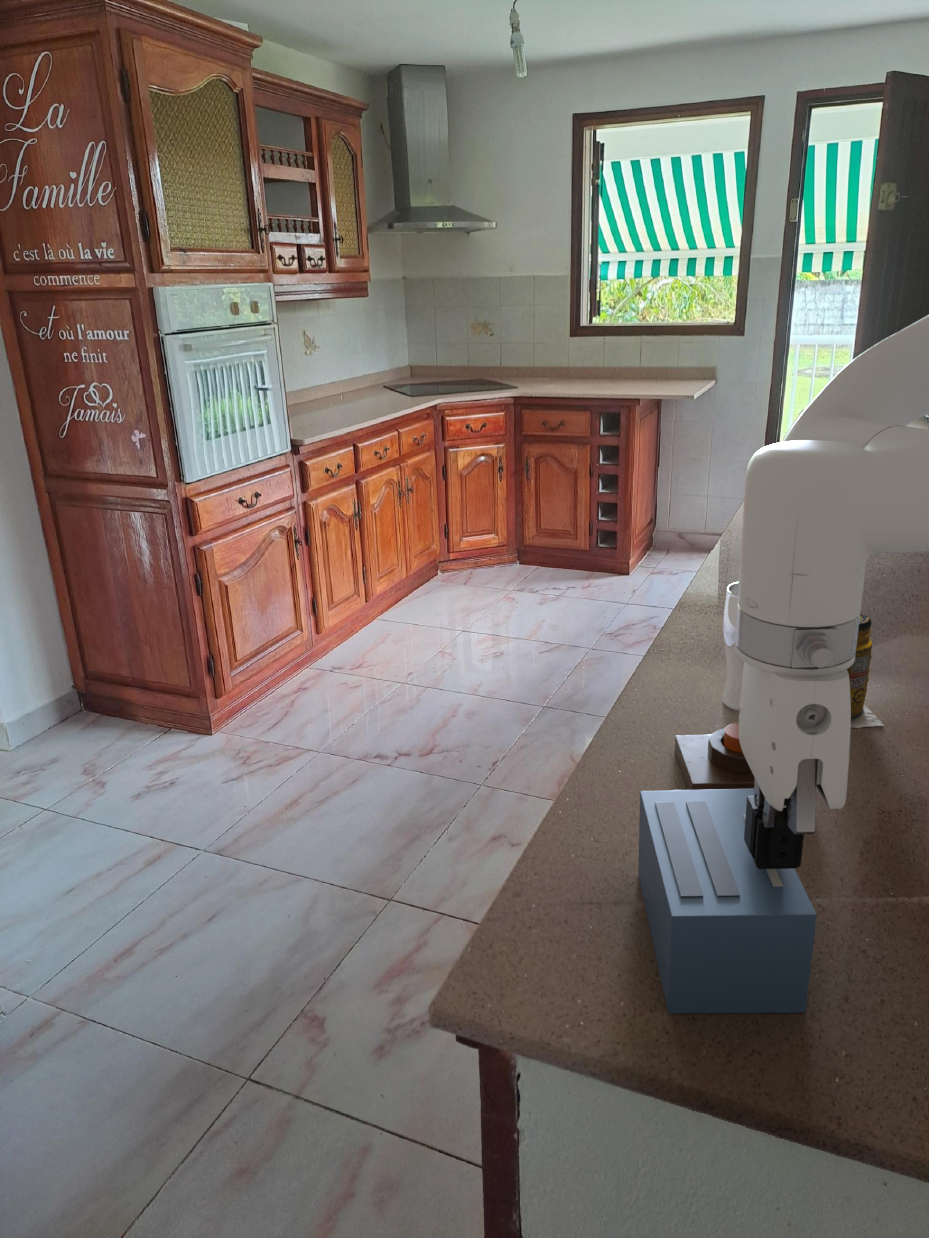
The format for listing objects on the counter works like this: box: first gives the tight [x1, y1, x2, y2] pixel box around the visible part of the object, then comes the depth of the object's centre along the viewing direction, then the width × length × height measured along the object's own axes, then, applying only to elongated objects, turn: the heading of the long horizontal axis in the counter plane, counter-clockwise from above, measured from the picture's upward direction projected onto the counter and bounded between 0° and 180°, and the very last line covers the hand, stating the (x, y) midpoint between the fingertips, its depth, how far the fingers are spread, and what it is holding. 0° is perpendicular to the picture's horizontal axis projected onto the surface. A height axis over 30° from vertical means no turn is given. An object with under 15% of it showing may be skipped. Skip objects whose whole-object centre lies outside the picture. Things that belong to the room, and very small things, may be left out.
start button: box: [723, 722, 743, 753], centre depth 93 cm, size 4×4×2 cm
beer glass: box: [721, 581, 744, 713], centre depth 107 cm, size 7×7×15 cm
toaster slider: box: [744, 796, 762, 853], centre depth 67 cm, size 2×2×4 cm
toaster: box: [637, 789, 818, 1015], centre depth 71 cm, size 10×16×9 cm, turn 177°
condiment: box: [847, 612, 885, 729], centre depth 104 cm, size 7×8×12 cm
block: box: [674, 727, 754, 790], centre depth 94 cm, size 12×10×4 cm
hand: (775, 861), depth 65 cm, fingers closed
